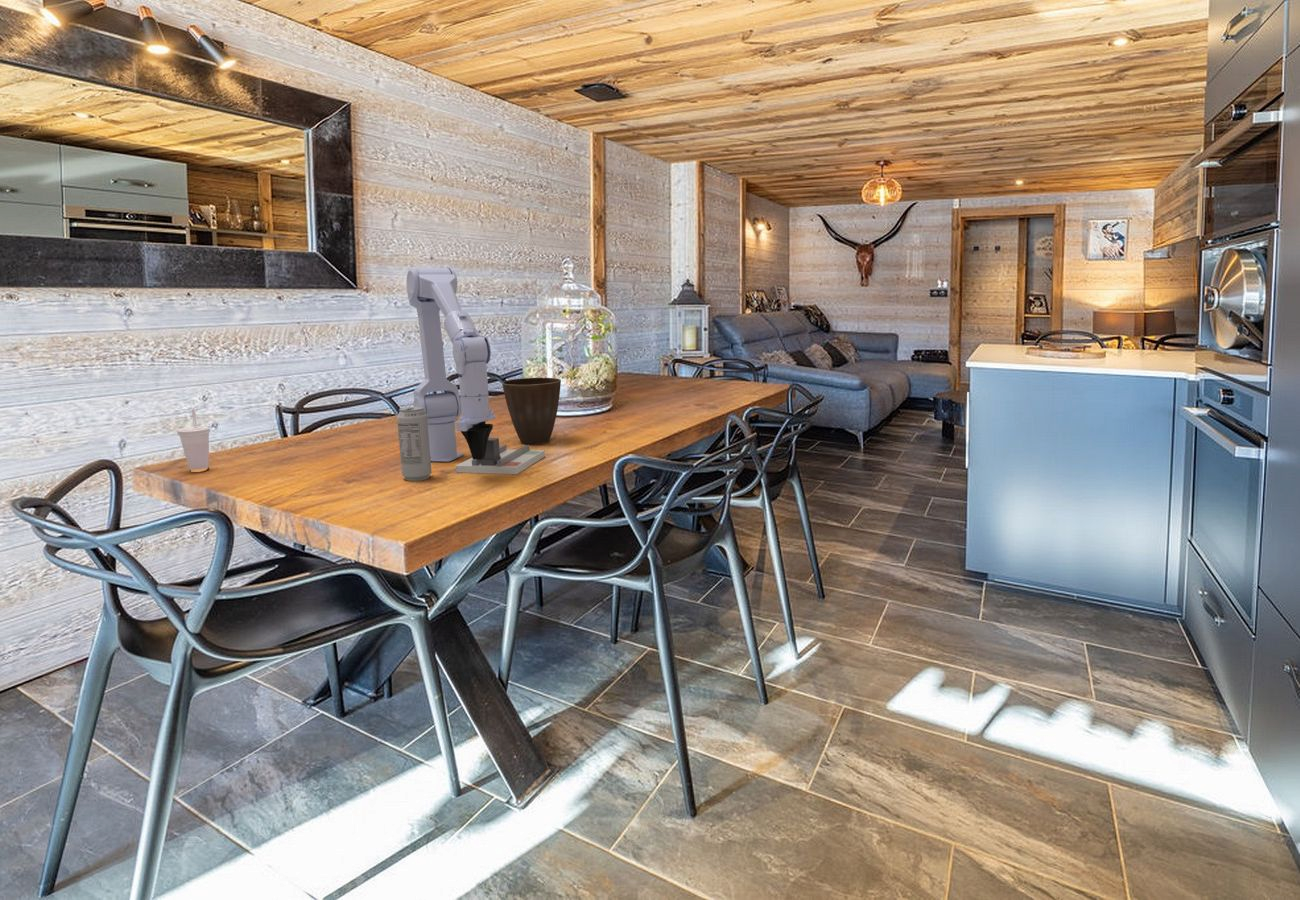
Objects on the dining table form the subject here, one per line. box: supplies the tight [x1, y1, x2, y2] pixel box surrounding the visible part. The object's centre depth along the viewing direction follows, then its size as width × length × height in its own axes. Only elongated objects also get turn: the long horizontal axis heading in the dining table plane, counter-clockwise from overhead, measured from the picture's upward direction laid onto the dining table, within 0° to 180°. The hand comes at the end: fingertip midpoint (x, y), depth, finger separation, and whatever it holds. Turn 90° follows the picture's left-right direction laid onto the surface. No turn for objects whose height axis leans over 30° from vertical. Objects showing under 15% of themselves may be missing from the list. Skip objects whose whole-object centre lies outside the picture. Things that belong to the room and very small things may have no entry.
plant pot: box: [501, 377, 562, 446], centre depth 197 cm, size 15×15×16 cm
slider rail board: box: [455, 444, 546, 475], centre depth 174 cm, size 14×18×3 cm
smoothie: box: [176, 409, 211, 469], centre depth 172 cm, size 6×6×14 cm
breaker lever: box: [481, 437, 501, 466], centre depth 167 cm, size 3×4×5 cm
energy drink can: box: [396, 406, 432, 482], centre depth 161 cm, size 6×6×15 cm
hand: (478, 459), depth 162 cm, fingers closed
